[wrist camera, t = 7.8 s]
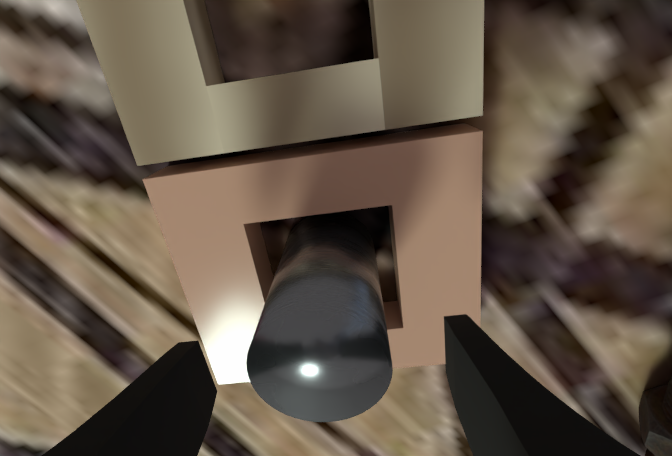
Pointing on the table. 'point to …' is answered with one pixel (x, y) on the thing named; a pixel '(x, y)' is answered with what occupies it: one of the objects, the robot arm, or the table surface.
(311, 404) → the pin
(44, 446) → the table surface
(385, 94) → the pin mount
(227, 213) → the socket block
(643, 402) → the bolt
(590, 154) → the table surface
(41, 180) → the table surface
